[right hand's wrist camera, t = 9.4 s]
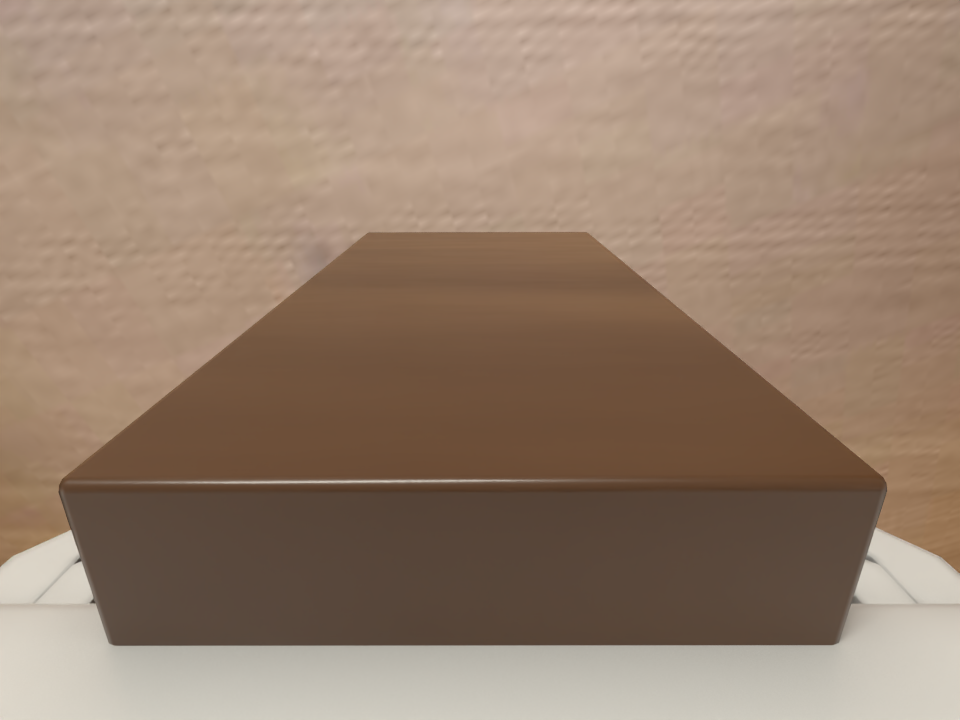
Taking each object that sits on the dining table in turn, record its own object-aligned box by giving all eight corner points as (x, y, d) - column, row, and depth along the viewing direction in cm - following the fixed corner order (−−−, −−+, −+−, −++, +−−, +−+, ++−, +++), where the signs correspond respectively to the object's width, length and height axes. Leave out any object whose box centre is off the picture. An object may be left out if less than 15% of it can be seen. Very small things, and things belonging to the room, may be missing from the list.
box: (366, 231, 15) (48, 483, 4) (588, 231, 15) (896, 482, 4) (405, 743, 22) (333, 1325, 11) (553, 743, 22) (624, 1325, 11)
